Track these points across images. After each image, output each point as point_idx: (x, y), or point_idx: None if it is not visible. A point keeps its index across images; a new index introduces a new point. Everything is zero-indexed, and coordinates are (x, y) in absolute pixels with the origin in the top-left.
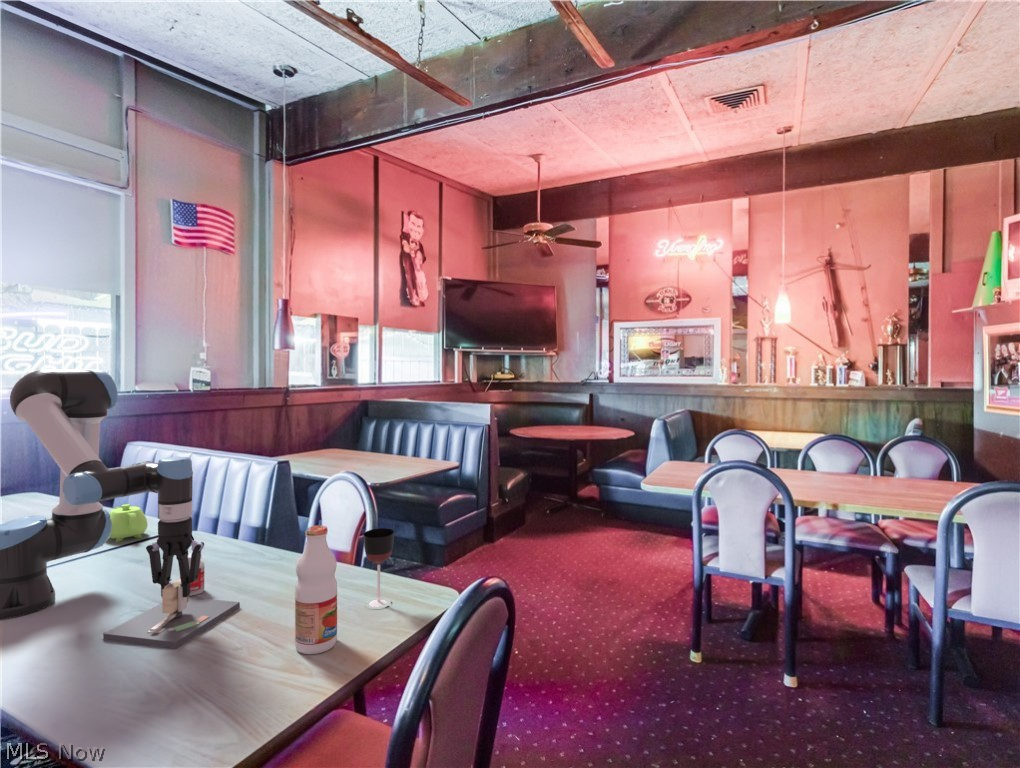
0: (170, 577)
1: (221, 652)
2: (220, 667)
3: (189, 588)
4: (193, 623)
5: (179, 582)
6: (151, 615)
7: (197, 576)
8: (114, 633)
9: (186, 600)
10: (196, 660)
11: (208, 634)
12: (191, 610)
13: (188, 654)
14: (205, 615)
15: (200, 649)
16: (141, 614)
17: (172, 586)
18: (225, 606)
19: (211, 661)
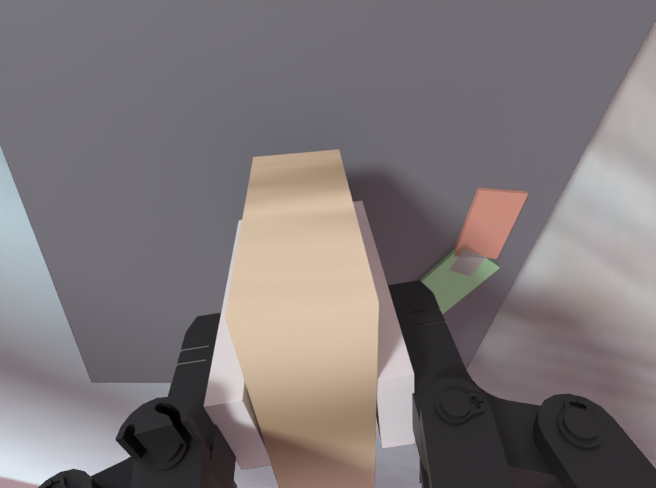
0: (198, 482)
1: (620, 357)
2: (628, 404)
3: (448, 339)
4: (466, 275)
5: (332, 399)
6: (124, 215)
7: (619, 452)
8: (142, 376)
9: (370, 233)
10: (549, 393)
11: (539, 272)
12: (349, 112)
13: (511, 377)
14: (491, 175)
15: (542, 354)
16: (36, 211)
17: (327, 459)
18: (602, 3)
19: (596, 391)
